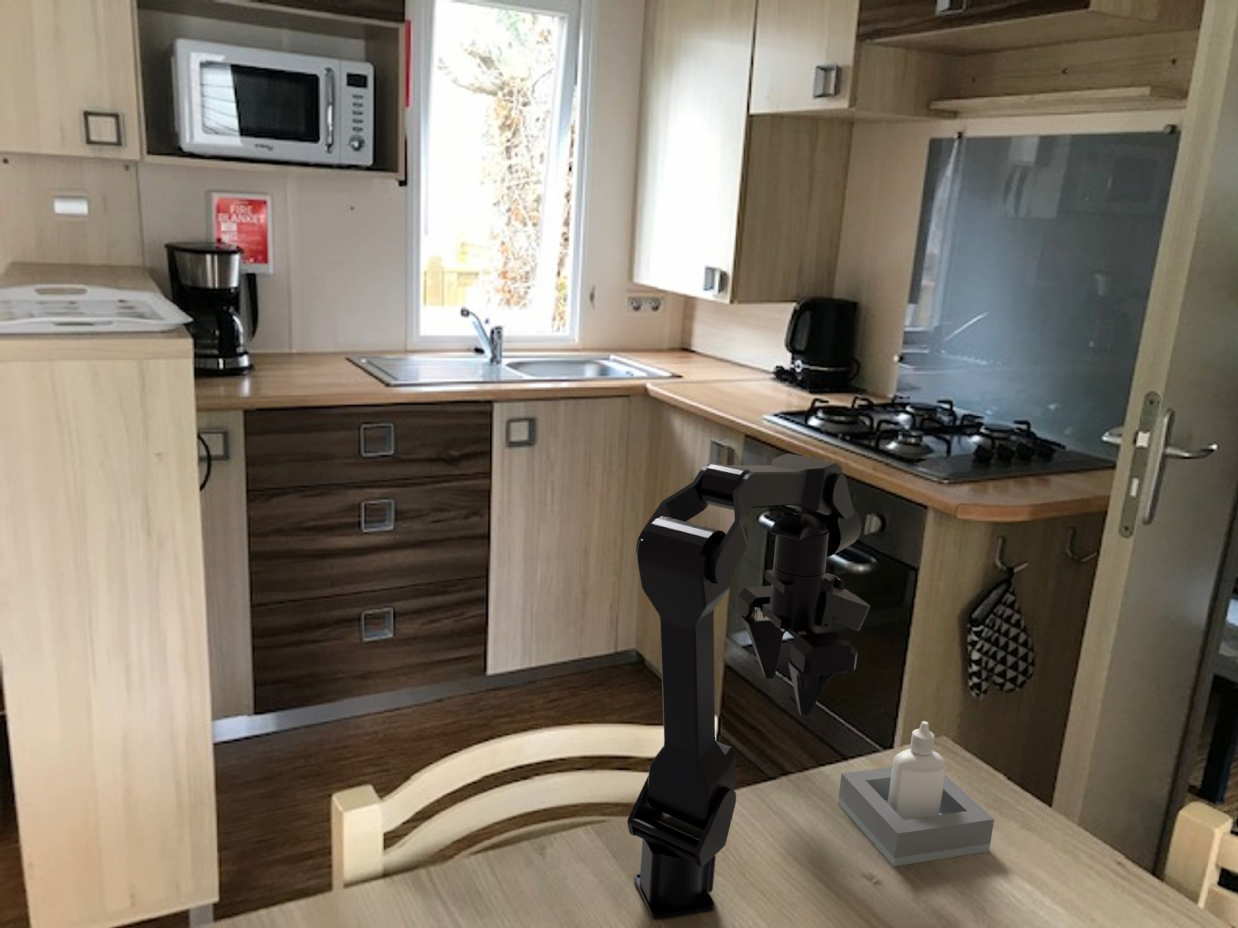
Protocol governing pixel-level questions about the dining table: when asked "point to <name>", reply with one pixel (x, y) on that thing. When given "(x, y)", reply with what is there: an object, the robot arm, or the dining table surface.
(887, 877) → the dining table surface
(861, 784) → the holder block
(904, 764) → the eye dropper bottle
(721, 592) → the robot arm
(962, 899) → the dining table surface
